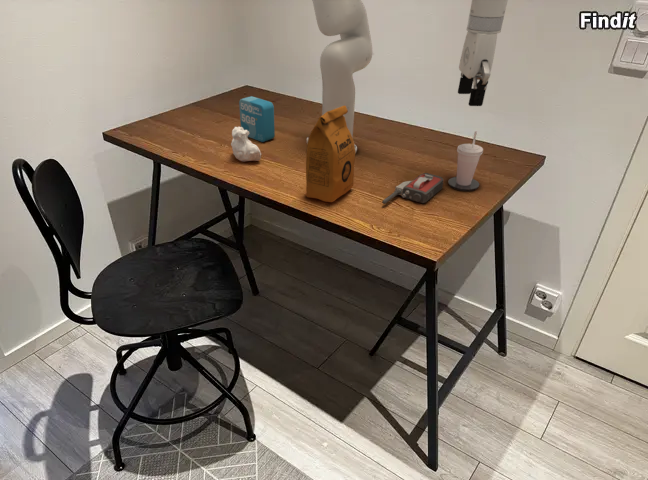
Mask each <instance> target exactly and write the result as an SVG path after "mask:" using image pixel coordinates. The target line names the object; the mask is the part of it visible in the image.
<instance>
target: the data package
mask: <svg viewBox="0 0 648 480" xmlns="http://www.w3.org/2000/svg"><path fill="white" fill-rule="evenodd" d="M238 105H239V120H240V127H243V129H244V130H247V131H249V133H250V134H249V135H248V137H247V138H250V139H253V140H256V141H258V142H260V143H265V142H268V141H271V140H273V139H274V138H275V136H276V133H275V131H276V130H275V107H274V103H273V102H271V101H269V100H266V99H262V98H259V97H256V96H252V95H251V96H246V97H243V98H240V100H239V102H238Z"/></svg>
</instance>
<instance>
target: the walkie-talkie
mask: <svg viewBox="0 0 648 480" xmlns="http://www.w3.org/2000/svg"><path fill="white" fill-rule="evenodd" d="M444 181H445V179H444V178H443V177H442V176H440V175H437V174H432V173H428V172H424V173H421V174H420V175H417V177H415V178H414V179H413V180H407V181H402V182H401V183H400V184H398V185H396V186H395V187H394V192H392V193H391V194H390V195H389V196H387V197H385V198H384V199H383V200H382V201H381V203H382V204H383V205H386V204H387V203H389V202H390V201H391V200H392V199H394V198H395V197H397V196H401V197H402V198H403V199H406V200H409V201H413V202H416V203H420V204H425V203H427V202H428V201H429V200H431V199H432V198H433V197H434V196H435V195H436V194H438V193H439V192H440V191H441V190H442V189H443V187H444V183H445V182H444Z"/></svg>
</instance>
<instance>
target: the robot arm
mask: <svg viewBox="0 0 648 480" xmlns="http://www.w3.org/2000/svg"><path fill="white" fill-rule="evenodd" d="M508 1H509V0H471V4H470V9H469V15H468V19H467V24H466V25H467V26H466V31H467V32H466V35H465V39H464V43H463V47H462V51H461V55H460V58H459V59H460V60H459V65H458V69H459V71H460V78H459V84H458V89H457V94H459V95H469V100H468V106H469V107H482V106H483V104H484V100H485V94H486V90H487V88H488V84H489V80H490V77H491V73H492V68H493V63H494V59H495V52H496V46H497V39H498V34H500V33H501V32H502V28H503V22H504V18H505V14H506V9H507V5H508ZM312 6H313V10H314V15H315V20H316V24H317V27H318V29H319V31H320V33H321V34H322V35H324V36H326V37H336V36H338V35H339V36H340V39H337V40H335V41H331V42H330V43H329V44H327V45H326V46H325V47H324V49H323V50H322V52H321V54H320V57H319V68H320V74H321V82H322V83H321V85H322V86H321V87H322V91H321V92H322V93H321V95H322V97H321V99H322V101H321V116H322V115H323V114H325V113H326V112H327V111H331V110H334V109H336V108H339V107H341V106H346V108H347V110H348V112H347V113H346V114H344V115H343V116H344V117H345V121H346V124H347V128H348V129H349V131H350V133H351V136H352V138H353V139H354V123H355V107H356V106H355V105H356V85H355V81H354V76H353V74H354V73H356V72H359V71H361V70H363V69H365V68H367V67H368V65H370V62H371V61H372V58H373V43H372V37H371V31H370V26H369V20H368V19H369V18H368V14H367V10H366V7H365V5H364V3H363V1H362V0H312ZM308 139H309V136H307V137H306V145H308ZM354 146H355V154H357V152H358V147H357V145H356V144H355V143H354Z"/></svg>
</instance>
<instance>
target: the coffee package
mask: <svg viewBox="0 0 648 480" xmlns="http://www.w3.org/2000/svg"><path fill="white" fill-rule="evenodd" d="M347 112H348V110H347V108H346V106H341V107H339V108H336V109H334V110H331V111H327V112H326V113H325V114H323V115H322V114H321V115H320V116H319V117H318V119H317V121H316V123H315V125H314V127H313V128H312V130H311V131H310V134H309V136H308V137H309V139H308V144H306V145H307V146H306V157H305V159H306V160H305V181H306V182H305V183H306V184H305V185H306V188H305V193H306V194H305V195H306V197H307V198H308V199H317V200H320V201H322V202H326V203H333V202H335V201H336V200H337V199H339V198H340V197H342V196H344V195H346V193H348V192H349V191H350V190H351V189H352V188H353V187H354V183H355V182H354V180H355V162H356V153H355V146H354V144H355V142H354V137H353V138H352V136H351V133H350V131H349V129H348V128H347V124H346V121H345V117H344V116H343V115H344V114H346V113H347Z"/></svg>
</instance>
